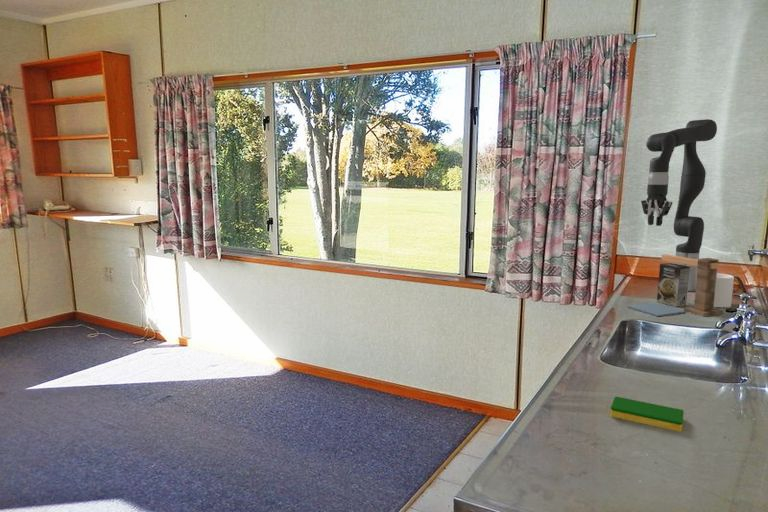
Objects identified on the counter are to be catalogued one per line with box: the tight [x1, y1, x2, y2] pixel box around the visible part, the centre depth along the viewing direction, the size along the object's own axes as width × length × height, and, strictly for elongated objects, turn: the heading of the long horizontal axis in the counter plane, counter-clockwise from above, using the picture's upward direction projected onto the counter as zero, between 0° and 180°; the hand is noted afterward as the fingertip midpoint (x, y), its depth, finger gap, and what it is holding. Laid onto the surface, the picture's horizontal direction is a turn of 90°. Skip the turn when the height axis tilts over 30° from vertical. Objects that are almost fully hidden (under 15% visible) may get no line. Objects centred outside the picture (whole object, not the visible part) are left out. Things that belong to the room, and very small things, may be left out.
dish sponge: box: [609, 396, 684, 432], centre depth 114 cm, size 7×14×2 cm, turn 59°
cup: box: [713, 272, 735, 309], centre depth 208 cm, size 12×12×12 cm
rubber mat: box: [627, 302, 686, 318], centre depth 201 cm, size 14×14×1 cm
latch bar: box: [661, 254, 719, 270], centre depth 202 cm, size 3×22×2 cm, turn 21°
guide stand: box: [683, 257, 723, 317], centre depth 196 cm, size 10×8×21 cm
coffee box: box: [656, 262, 690, 308], centre depth 209 cm, size 9×6×16 cm
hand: (654, 225), depth 215 cm, fingers open, 3 cm apart
